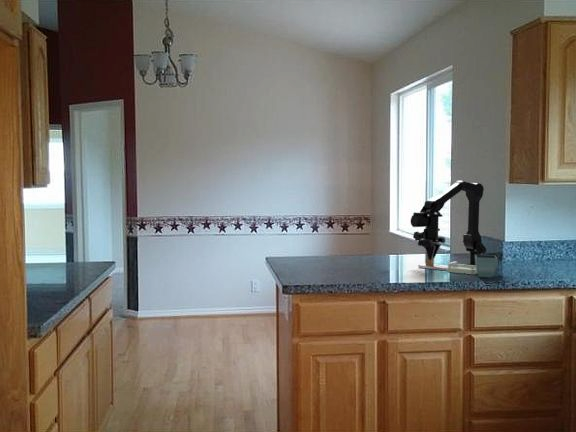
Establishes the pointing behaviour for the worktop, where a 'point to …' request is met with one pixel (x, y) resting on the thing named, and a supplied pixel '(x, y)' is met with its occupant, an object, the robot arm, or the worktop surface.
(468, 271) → the corral
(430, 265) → the metal bookend
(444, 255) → the worktop surface
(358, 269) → the worktop surface
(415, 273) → the worktop surface
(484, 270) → the flower pot
